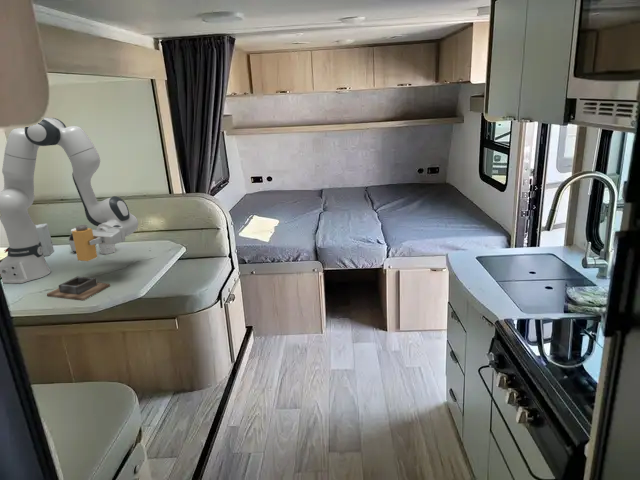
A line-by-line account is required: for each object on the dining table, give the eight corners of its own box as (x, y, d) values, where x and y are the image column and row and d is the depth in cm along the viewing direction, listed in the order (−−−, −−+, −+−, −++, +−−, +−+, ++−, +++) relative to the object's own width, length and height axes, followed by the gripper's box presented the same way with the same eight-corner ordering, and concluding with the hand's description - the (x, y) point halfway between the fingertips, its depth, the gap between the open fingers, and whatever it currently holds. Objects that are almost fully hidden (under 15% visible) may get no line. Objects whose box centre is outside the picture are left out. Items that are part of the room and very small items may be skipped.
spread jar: (71, 254, 230) (66, 232, 227) (73, 248, 240) (68, 226, 237) (97, 251, 234) (93, 228, 231) (98, 244, 244) (94, 223, 241)
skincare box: (49, 256, 230) (42, 227, 225) (35, 257, 229) (28, 228, 224) (54, 250, 238) (48, 222, 233) (41, 252, 236) (35, 224, 232)
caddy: (47, 296, 182) (45, 286, 180) (75, 282, 194) (73, 273, 193) (83, 300, 176) (81, 290, 175) (110, 286, 189) (108, 277, 188)
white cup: (112, 254, 228) (108, 235, 225) (96, 255, 228) (92, 235, 225) (119, 249, 235) (116, 230, 232) (104, 249, 236) (100, 231, 233)
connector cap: (77, 260, 185) (71, 227, 181) (87, 256, 190) (81, 224, 186) (88, 261, 184) (81, 228, 180) (97, 257, 188) (91, 224, 184)
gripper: (86, 224, 198) (60, 233, 186) (126, 226, 192) (101, 236, 180) (89, 238, 200) (63, 248, 188) (128, 241, 194) (104, 251, 182)
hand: (82, 242), depth 184 cm, fingers closed on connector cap, 5 cm apart
